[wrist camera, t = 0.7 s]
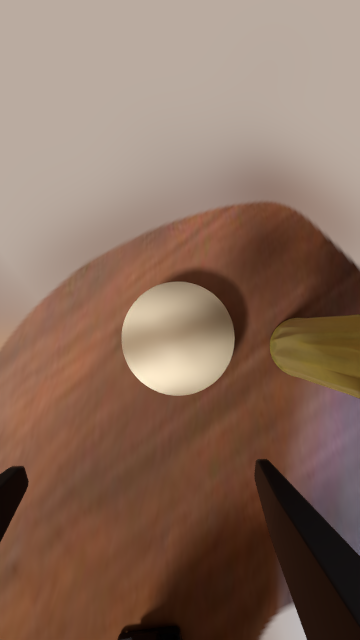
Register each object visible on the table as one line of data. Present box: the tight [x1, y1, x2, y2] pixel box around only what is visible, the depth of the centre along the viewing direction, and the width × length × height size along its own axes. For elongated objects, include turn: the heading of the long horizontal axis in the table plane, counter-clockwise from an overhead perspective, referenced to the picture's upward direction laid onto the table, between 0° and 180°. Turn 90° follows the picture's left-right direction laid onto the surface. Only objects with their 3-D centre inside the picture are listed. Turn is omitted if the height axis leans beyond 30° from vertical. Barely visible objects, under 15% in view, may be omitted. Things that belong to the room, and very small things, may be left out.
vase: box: [270, 314, 360, 398], centre depth 13 cm, size 6×6×14 cm
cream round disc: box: [122, 282, 235, 395], centre depth 20 cm, size 11×11×3 cm
